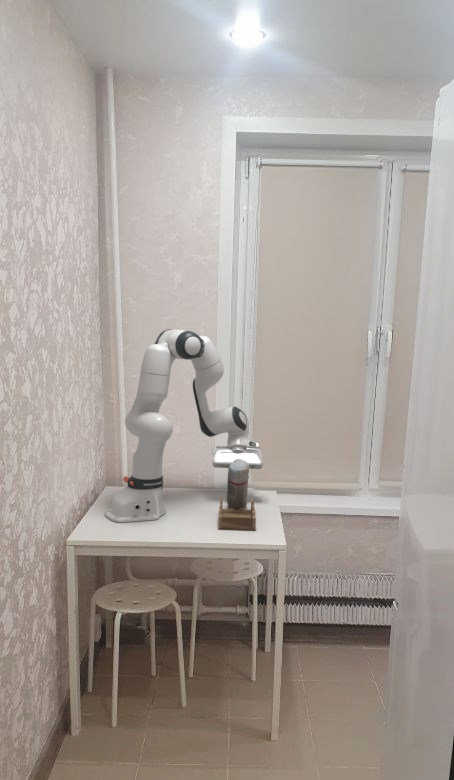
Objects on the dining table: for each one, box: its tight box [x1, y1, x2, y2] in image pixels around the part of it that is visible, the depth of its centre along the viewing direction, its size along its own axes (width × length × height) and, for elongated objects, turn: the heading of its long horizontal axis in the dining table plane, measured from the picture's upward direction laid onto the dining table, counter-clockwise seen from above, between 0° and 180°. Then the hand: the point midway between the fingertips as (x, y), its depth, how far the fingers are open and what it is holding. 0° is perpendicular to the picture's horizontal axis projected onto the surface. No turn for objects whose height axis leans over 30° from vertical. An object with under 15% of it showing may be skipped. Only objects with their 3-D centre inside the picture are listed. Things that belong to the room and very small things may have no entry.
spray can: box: [226, 459, 250, 509], centre depth 233 cm, size 8×8×20 cm
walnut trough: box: [217, 498, 257, 532], centre depth 223 cm, size 22×13×4 cm, turn 179°
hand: (237, 476), depth 238 cm, fingers closed
